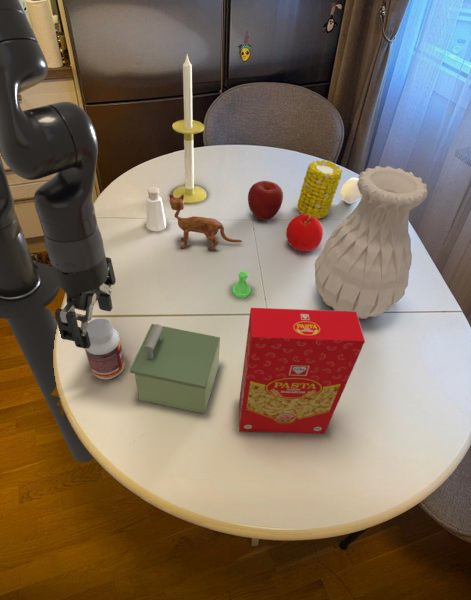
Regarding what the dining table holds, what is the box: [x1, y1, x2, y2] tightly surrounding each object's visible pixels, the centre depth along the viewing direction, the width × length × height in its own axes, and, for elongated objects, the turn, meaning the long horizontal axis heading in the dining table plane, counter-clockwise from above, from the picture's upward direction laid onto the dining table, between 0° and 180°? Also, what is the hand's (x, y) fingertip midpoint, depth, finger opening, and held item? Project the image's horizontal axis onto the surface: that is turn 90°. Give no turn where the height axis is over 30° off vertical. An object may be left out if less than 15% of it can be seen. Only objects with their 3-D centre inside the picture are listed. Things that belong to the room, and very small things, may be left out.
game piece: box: [232, 270, 251, 299], centre depth 94 cm, size 4×4×6 cm
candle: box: [171, 55, 208, 205], centre depth 111 cm, size 10×10×38 cm
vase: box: [314, 165, 429, 320], centre depth 85 cm, size 20×20×30 cm
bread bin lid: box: [129, 323, 221, 389], centre depth 70 cm, size 13×11×4 cm
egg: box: [340, 177, 362, 205], centre depth 124 cm, size 6×6×8 cm
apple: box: [247, 180, 284, 221], centre depth 115 cm, size 10×10×10 cm
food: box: [296, 159, 343, 220], centre depth 117 cm, size 15×12×10 cm
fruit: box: [285, 213, 324, 252], centre depth 106 cm, size 9×9×10 cm
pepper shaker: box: [145, 186, 167, 233], centre depth 108 cm, size 5×5×11 cm
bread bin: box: [134, 341, 221, 415], centre depth 75 cm, size 12×11×8 cm
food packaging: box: [238, 307, 366, 435], centre depth 64 cm, size 15×5×25 cm, turn 90°
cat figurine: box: [169, 193, 243, 251], centre depth 103 cm, size 18×7×14 cm, turn 92°
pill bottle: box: [84, 318, 126, 380], centre depth 75 cm, size 6×6×11 cm
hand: (95, 327), depth 71 cm, fingers open, 8 cm apart
